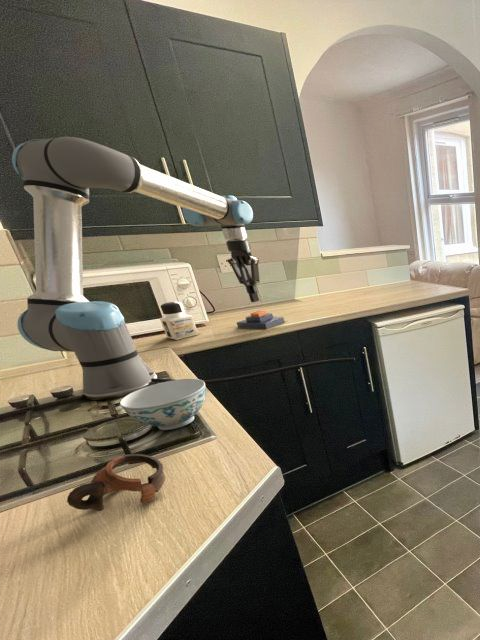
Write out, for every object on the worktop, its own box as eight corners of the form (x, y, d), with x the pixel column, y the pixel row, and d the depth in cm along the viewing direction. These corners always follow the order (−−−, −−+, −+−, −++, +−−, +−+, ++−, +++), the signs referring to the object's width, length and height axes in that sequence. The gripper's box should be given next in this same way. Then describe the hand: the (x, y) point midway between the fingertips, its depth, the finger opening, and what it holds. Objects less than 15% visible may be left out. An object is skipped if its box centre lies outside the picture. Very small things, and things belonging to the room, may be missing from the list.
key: (267, 315, 173) (265, 311, 172) (259, 317, 169) (258, 313, 168) (259, 315, 173) (257, 310, 173) (251, 317, 170) (250, 313, 169)
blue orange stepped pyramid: (284, 322, 175) (282, 312, 174) (266, 328, 167) (263, 319, 165) (257, 321, 179) (254, 311, 177) (238, 327, 170) (235, 318, 168)
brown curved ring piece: (132, 480, 76) (143, 443, 74) (171, 509, 75) (183, 472, 73) (46, 510, 64) (56, 467, 62) (90, 544, 63) (102, 501, 61)
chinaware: (228, 416, 97) (217, 386, 94) (151, 447, 86) (136, 413, 83) (197, 402, 105) (187, 374, 102) (123, 429, 93) (108, 398, 90)
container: (176, 340, 157) (163, 306, 151) (166, 337, 160) (153, 304, 155) (199, 334, 163) (187, 301, 158) (189, 332, 166) (177, 299, 161)
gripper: (258, 238, 161) (275, 299, 171) (231, 239, 164) (249, 298, 174) (243, 240, 154) (261, 303, 164) (214, 241, 157) (234, 303, 167)
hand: (255, 301), depth 169 cm, fingers closed
